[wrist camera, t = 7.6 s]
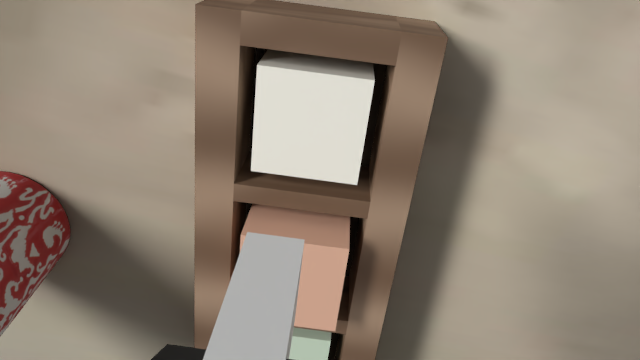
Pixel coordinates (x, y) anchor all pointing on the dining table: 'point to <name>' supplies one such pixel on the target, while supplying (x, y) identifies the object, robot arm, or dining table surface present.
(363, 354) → the wooden compartment tray
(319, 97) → the key ivory
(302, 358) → the key sage
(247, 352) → the robot arm
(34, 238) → the mug
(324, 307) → the key terracotta
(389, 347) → the dining table surface
